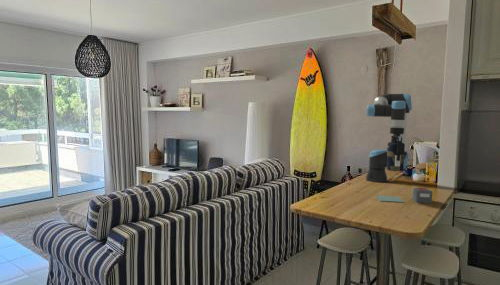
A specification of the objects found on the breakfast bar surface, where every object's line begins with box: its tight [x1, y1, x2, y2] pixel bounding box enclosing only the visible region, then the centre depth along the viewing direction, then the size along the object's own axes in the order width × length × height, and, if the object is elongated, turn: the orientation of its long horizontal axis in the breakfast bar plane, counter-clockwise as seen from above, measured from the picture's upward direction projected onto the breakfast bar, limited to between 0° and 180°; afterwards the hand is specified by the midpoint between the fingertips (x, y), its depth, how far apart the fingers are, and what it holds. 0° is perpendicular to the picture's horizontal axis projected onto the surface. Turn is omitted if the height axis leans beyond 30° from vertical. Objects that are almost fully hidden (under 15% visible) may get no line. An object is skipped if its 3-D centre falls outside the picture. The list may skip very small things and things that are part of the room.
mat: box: [375, 194, 405, 203], centre depth 201 cm, size 12×13×1 cm
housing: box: [411, 187, 433, 204], centre depth 198 cm, size 8×8×7 cm
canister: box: [385, 141, 406, 172], centre depth 201 cm, size 10×10×18 cm
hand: (394, 164), depth 202 cm, fingers closed on canister, 9 cm apart
